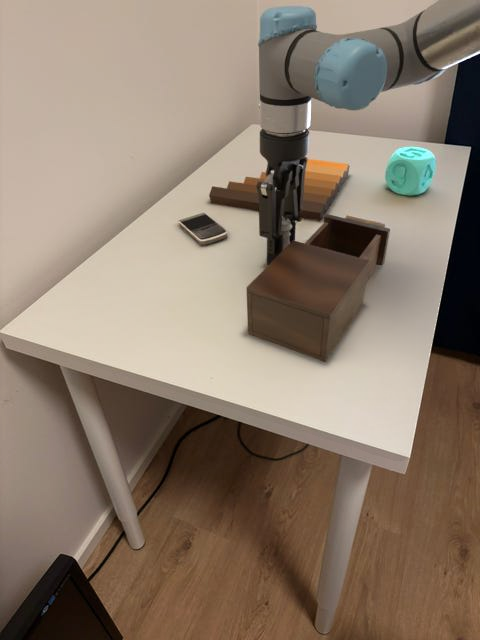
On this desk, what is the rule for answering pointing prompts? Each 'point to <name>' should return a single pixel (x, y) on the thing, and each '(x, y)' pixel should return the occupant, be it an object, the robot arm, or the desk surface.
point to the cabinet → (306, 298)
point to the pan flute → (318, 190)
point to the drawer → (353, 238)
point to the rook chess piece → (286, 232)
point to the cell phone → (203, 228)
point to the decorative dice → (410, 170)
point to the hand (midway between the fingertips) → (280, 259)
